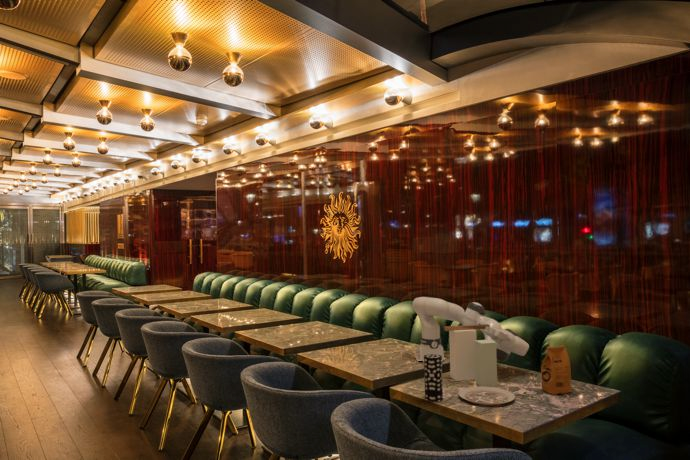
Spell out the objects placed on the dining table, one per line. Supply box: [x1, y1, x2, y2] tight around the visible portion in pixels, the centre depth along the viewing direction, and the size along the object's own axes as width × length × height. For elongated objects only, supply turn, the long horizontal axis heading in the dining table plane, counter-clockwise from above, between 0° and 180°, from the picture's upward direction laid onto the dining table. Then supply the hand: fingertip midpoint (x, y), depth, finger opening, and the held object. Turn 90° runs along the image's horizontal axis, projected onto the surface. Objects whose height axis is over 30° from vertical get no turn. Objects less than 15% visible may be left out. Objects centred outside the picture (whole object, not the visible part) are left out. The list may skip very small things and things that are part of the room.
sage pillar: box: [474, 339, 498, 387], centre depth 254 cm, size 8×8×22 cm
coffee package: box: [540, 344, 572, 396], centre depth 240 cm, size 10×12×22 cm
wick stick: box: [443, 324, 489, 332], centre depth 267 cm, size 3×25×2 cm, turn 101°
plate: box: [458, 385, 516, 406], centre depth 232 cm, size 26×26×2 cm
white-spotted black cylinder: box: [423, 354, 444, 403], centre depth 233 cm, size 8×8×20 cm
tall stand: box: [448, 330, 478, 382], centre depth 266 cm, size 8×12×26 cm, turn 101°
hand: (481, 325), depth 269 cm, fingers open, 8 cm apart
